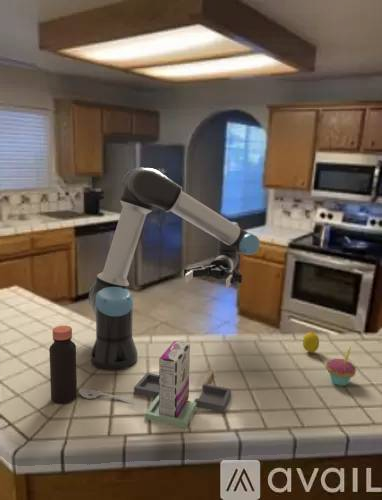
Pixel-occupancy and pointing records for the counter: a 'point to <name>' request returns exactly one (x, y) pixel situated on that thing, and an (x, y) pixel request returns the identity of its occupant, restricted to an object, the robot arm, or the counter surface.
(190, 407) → the green square tray
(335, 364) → the cupcake
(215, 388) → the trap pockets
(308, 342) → the lemon
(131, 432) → the counter surface
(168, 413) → the candy bar box
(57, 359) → the bottle
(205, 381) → the lane rails
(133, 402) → the spoon
